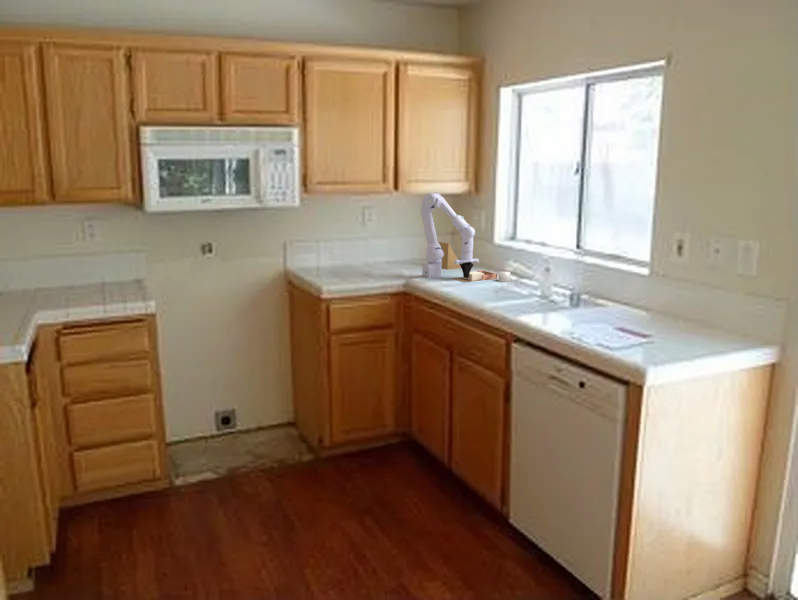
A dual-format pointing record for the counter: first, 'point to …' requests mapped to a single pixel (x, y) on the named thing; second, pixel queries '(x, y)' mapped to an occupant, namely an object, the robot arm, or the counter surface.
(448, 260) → the sandwich container
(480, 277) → the carton
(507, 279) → the grey rounded piece
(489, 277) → the open-sided wooden box
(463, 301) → the counter surface
